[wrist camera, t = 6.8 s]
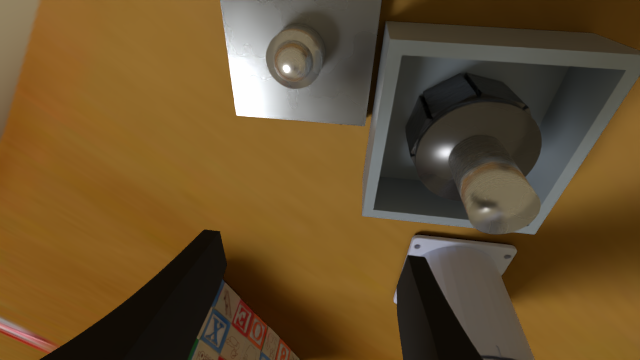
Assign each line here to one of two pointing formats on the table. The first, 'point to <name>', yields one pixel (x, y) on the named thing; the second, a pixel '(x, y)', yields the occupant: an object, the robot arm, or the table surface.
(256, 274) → the table surface
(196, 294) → the robot arm
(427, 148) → the dark grey stepped cylinder
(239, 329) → the stack of blocks
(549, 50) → the bin
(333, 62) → the stud mount
